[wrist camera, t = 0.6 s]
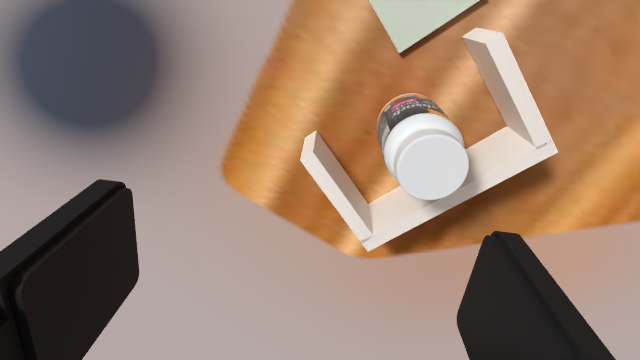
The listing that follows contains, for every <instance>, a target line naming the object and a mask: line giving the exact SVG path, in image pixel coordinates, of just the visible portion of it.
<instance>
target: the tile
mask: <svg viewBox="0 0 640 360" xmlns="http://www.w3.org/2000/svg"><path fill="white" fill-rule="evenodd" d="M368 1H369V3H370V4H371V6H372V8H373V10H374V11H375V13H376V15H377V17H378V18H379V20H380V22H381V23H382V25H383V27H384V29H385V30H386V32H387V34H388V36H389V37H390V39H391V41H392V43H393V44H394V46H395V48H396V50H397V51H398V53H401V52H402V51H404V50H405V49H407V48H408V47H410V46H411V45H413V44H414V43H416V42H417V41H419V40H420V39H422V38H423V37H425V36H426V35H428V34H429V33H431V32H432V31H434V30H435V29H437V28H438V27H440V26H442V25H443V24H445V23H446V22H448V21H449V20H451V19H452V18H454V17H455V16H457V15H458V14H460V13H461V12H463V11H464V10H466V9H467V8H469V7H470V6H472V5H473V4H475V3H476V2H478V1H479V0H368Z"/></svg>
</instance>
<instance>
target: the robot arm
mask: <svg viewBox="0 0 640 360" xmlns="http://www.w3.org/2000/svg"><path fill="white" fill-rule="evenodd" d="M138 277H139V265H138V253H137V242H136V230H135V219H134V208H133V197H132V192H131V190H130V189H128V188H126V186H125V184H124V183H123V182H117V181H109V180H100V179H99V180H97V181H95V182H94V183H93V184H91V185H90V186H89V187H87V188H86V189H85V190H83V191H82V192H81V193H79V194H78V195H76V196H75V197H74V198H72V199H71V200H70V201H68V202H67V203H66V204H64V205H63V206H61V207H60V208H59V209H57V210H56V211H55V212H53V213H52V214H51V215H49V216H48V217H47V218H45V219H44V220H42V221H41V222H40V223H38V224H37V225H36V226H34V227H33V228H32V229H30V230H29V231H27V232H26V233H25V234H23V235H22V236H21V237H20V238H18V239H17V240H15V241H14V242H13V243H11V244H10V245H8V246H7V247H6V248H4V249H3V250H2V251H0V360H82V359H83V357H84V356H85V355H86V353H87V352H88V350H89V349H90V348H91V346H92V345H93V343H94V342H95V341H96V339H97V338H98V337H99V335H100V334H101V332H102V331H103V330H104V328H105V327H106V325H107V324H108V323H109V321H110V320H111V318H112V317H113V316H114V314H115V313H116V312H117V310H118V309H119V307H120V306H121V305H122V303H123V302H124V300H125V299H126V298H127V296H128V295H129V293H130V292H131V291H132V289H133V288H134V286H135V285H136V283H137V280H138ZM457 325H458V329H459V332H460V334H461V337H462V340H463V343H464V345H465V348H466V351H467V354H468V357H469V359H470V360H616V359H615V358H614V357H613V356H612V354H611V353H610V352H609V350H608V349H607V348H606V347H605V345H604V344H603V343H602V341H601V340H600V339H599V337H598V336H597V335H596V334H595V332H594V331H593V330H592V328H591V327H590V326H589V324H587V322H586V320H585V319H584V318H583V317H582V315H581V314H580V313H579V311H578V310H577V309H576V308H575V306H574V305H573V304H572V302H571V301H570V300H569V298H568V297H567V296H566V295H565V293H564V292H563V291H562V289H561V288H560V287H559V285H558V284H557V283H556V281H555V280H554V279H553V278H552V276H551V275H550V274H549V273H548V271H547V270H546V269H545V267H544V266H543V265H542V263H541V262H540V261H539V259H538V258H537V257H536V256H535V254H534V253H533V252H532V250H531V249H530V248H529V246H528V245H527V244H526V243H525V241H524V240H523V239H522V237H521V236H520V235H519V234H516V233H508V232H500V231H494V232H493V233H492V234H491V236H489V235H487V236H485V238H484V240H483V242H482V245H481V248H480V250H479V253H478V256H477V259H476V262H475V265H474V268H473V270H472V273H471V276H470V279H469V282H468V284H467V287H466V290H465V293H464V296H463V299H462V301H461V304H460V307H459V310H458V313H457Z"/></svg>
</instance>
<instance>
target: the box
mask: <svg viewBox="0 0 640 360" xmlns="http://www.w3.org/2000/svg"><path fill="white" fill-rule="evenodd" d="M462 38H463V40H464V42H465V44H466V46H467V48H468V50H469V52H470V54H471V56H472V58H473V60H474V62H475V64H476V66H477V68H478V70H479V72H480V74H481V76H482V78H483V80H484V82H485V84H486V86H487V88H488V90H489V92H490V94H491V96H492V98H493V100H494V102H495V104H496V106H497V108H498V110H499V112H500V114H501V116H502V118H503V120H504V122H505V124H506V127H504V128H503V129H501V130H499V131H497V132H495V133H494V134H492V135H490V136H488V137H487V138H485V139H483V140H481V141H479V142H478V143H476V144H474V145H472V146H470V147H469V148H467V149H465V150H466V152H467V155H468V158H469V170H468V174H467V176H466V178H465V180H464V182H463V183H462V185H461V186H460V187H459V188H458V189H457V190H456V191H455V192H453V193H452V194H450V195H448V196H446V197H444V198H441V199H437V200H422V199H418V198H415V197H413V196H411V195H410V194H408V193H407V192H406V191H405V190H404V189H403V188H402V187H401V186H399V187H397V188H396V189H394V190H392V191H390V192H388V193H387V194H385V195H383V196H381V197H379V198H378V199H376V200H374V201H372V202H371V203H369V204H368V203H367V202H366V200H365V199H364V197H363V196H362V195H361V193H360V192H359V190H358V189H357V187H356V186H355V185H354V183H353V182H352V180H351V179H350V177H349V176H348V175H347V173H346V172H345V170H344V169H343V168H342V166H341V165H340V163H339V162H338V160H337V159H336V158H335V156H334V155H333V153H332V152H331V150H330V149H329V148H328V146H327V145H326V143H325V142H324V141H323V139H322V138H321V136H320V135H319V133H318V132H317V131H315V132H313V133H312V134H310V135H308V136H307V137H305V141H304V146H303V150H302V154H301V158H300V161H301V162H302V163H303V165H304V166H305V168H306V169H307V170H308V172H309V173H310V174H311V176H312V177H313V178H314V180H315V181H316V182H317V184H318V185H319V186H320V188H321V189H322V190H323V192H324V193H325V194H326V196H327V197H328V198H329V200H330V201H331V202H332V204H333V205H334V207H335V208H336V209H337V211H338V212H339V213H340V215H341V216H342V217H343V219H344V220H345V221H346V223H347V224H348V225H349V227H350V228H351V229H352V231H353V232H354V233H355V235H356V236H357V237H358V239H359V240H360V242H361V243H362V244H363V246H364V247H365V248H366V250H367V251H370V250H372V249H374V248H376V247H378V246H380V245H382V244H383V243H385V242H387V241H389V240H391V239H393V238H395V237H397V236H399V235H401V234H403V233H404V232H406V231H408V230H410V229H412V228H414V227H416V226H418V225H420V224H422V223H424V222H426V221H427V220H429V219H431V218H433V217H435V216H437V215H439V214H441V213H443V212H445V211H447V210H448V209H450V208H452V207H454V206H456V205H458V204H460V203H462V202H464V201H466V200H468V199H469V198H471V197H473V196H475V195H477V194H479V193H481V192H483V191H485V190H487V189H489V188H491V187H492V186H494V185H496V184H498V183H500V182H502V181H504V180H506V179H508V178H510V177H512V176H513V175H515V174H517V173H519V172H521V171H523V170H525V169H527V168H529V167H531V166H533V165H535V164H536V163H538V162H540V161H542V160H544V159H546V158H548V157H550V156H552V155H554V154H556V153H557V152H558V151H557V149H556V147H555V144H554V142H553V140H552V138H551V136H550V134H549V132H548V129H547V127H546V125H545V123H544V121H543V119H542V116H541V114H540V112H539V110H538V108H537V106H536V104H535V101H534V99H533V97H532V95H531V93H530V91H529V88H528V86H527V84H526V82H525V80H524V78H523V76H522V73H521V71H520V69H519V67H518V65H517V63H516V60H515V58H514V56H513V54H512V52H511V50H510V48H509V45H508V43H507V41H506V39H505V37H504V35H503V33H500V32H495V31H490V30H485V29H480V28H475V29H473V30H472V31H470V32H468V33H467V34H465V35H464V36H462Z"/></svg>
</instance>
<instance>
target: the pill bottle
mask: <svg viewBox="0 0 640 360" xmlns="http://www.w3.org/2000/svg"><path fill="white" fill-rule="evenodd" d="M377 134H378V139H379V142H380V146H381V149H382V153H383V156H384V160H385V164H386V167H387V168H388V170H389V172H390V173H391V175H392V176H393V177H394V178H395V179H396V180H397V181H398V182H399V184H400V185H401V187H402V188H403V189H404V190H405V191H406V192H407V193H408V194H410V195H411V196H413V197H415V198H418V199H422V200H437V199H441V198H444V197H446V196H448V195H450V194H452V193H453V192H455V191H456V190H457V189H458V188H459V187H460V186H461V185H462V183H463V182H464V180H465V178H466V176H467V174H468V170H469V158H468V155H467V152H466V150H465V148H464V142H463V138H462V135H461V133H460V131H459V130H458V128H457V127H456V126H455V124H454V123H453V122H452V121H451V120H450V119H449V118H448V117H447V115H446V114H445V113H444V112H443V111H442V110H441V109H440V107H439V106H438V105H437V104H436V103H435V102H434V101H433V100H431V99H430V98H428V97H426V96H424V95H421V94H416V93H409V94H403V95H400V96H397V97H395V98H394V99H392V100H391V101H389V102H388V103H387V104H386V105H385V106H384V108H383V109H382V111H381V112H380V115H379V117H378V121H377Z"/></svg>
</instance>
